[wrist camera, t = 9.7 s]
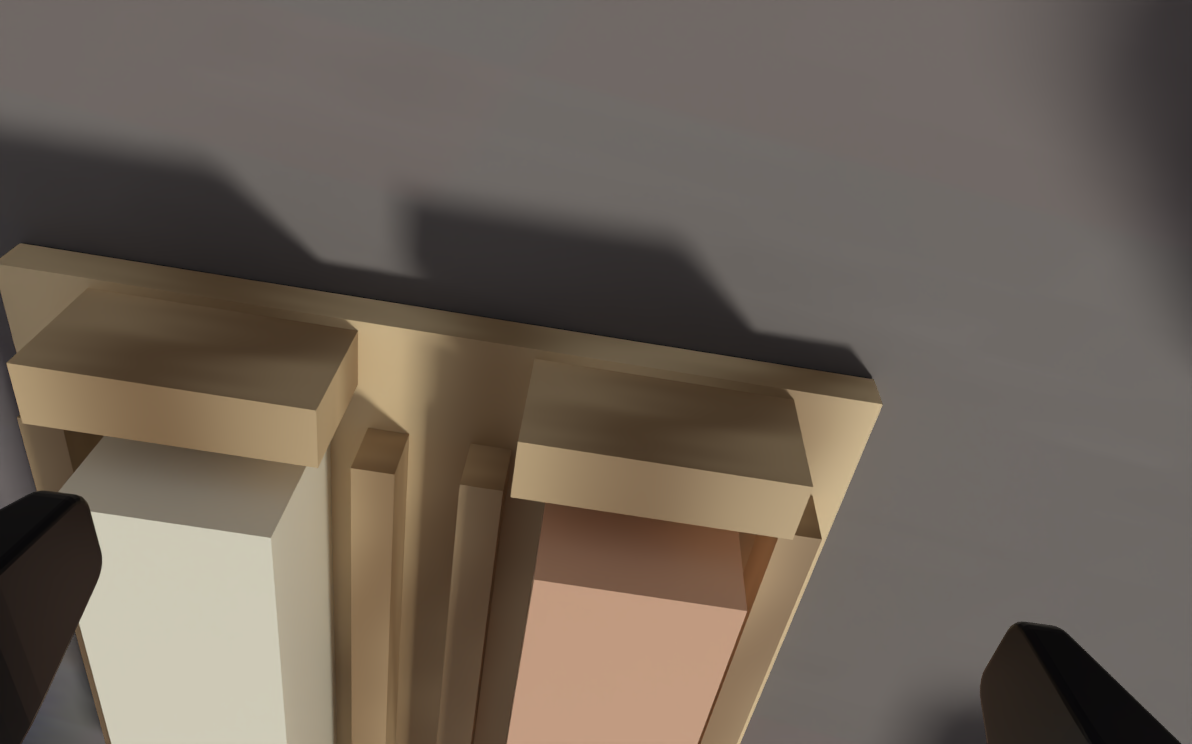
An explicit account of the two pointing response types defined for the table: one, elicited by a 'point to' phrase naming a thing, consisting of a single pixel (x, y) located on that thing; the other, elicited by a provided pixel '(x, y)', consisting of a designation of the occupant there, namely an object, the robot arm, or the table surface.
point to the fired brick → (625, 629)
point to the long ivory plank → (210, 596)
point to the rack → (439, 458)
